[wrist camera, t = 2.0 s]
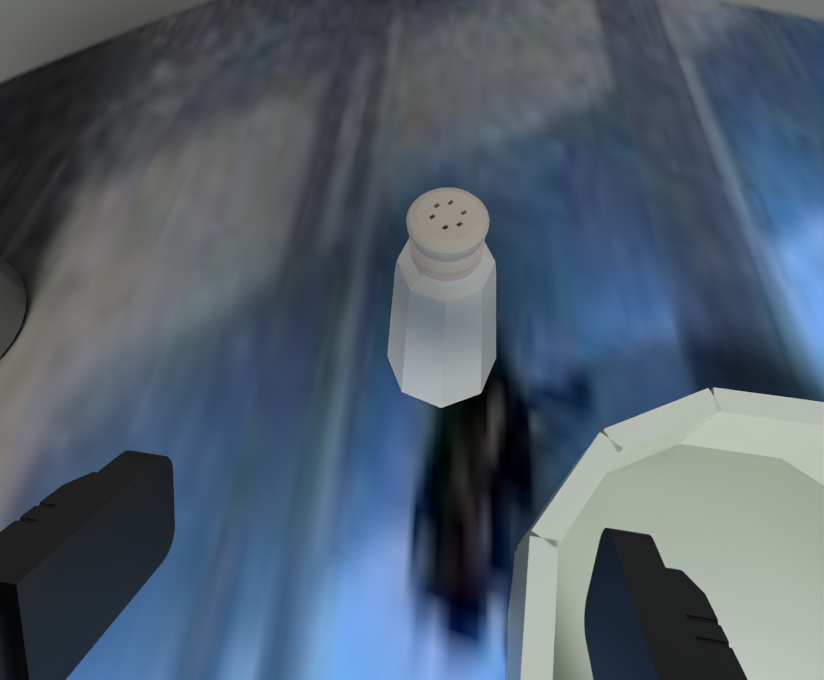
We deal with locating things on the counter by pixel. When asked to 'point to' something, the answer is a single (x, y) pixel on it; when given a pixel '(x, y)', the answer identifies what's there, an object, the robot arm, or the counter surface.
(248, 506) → the counter surface
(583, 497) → the bowl
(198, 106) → the counter surface
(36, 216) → the counter surface
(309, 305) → the counter surface
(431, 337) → the salt shaker
